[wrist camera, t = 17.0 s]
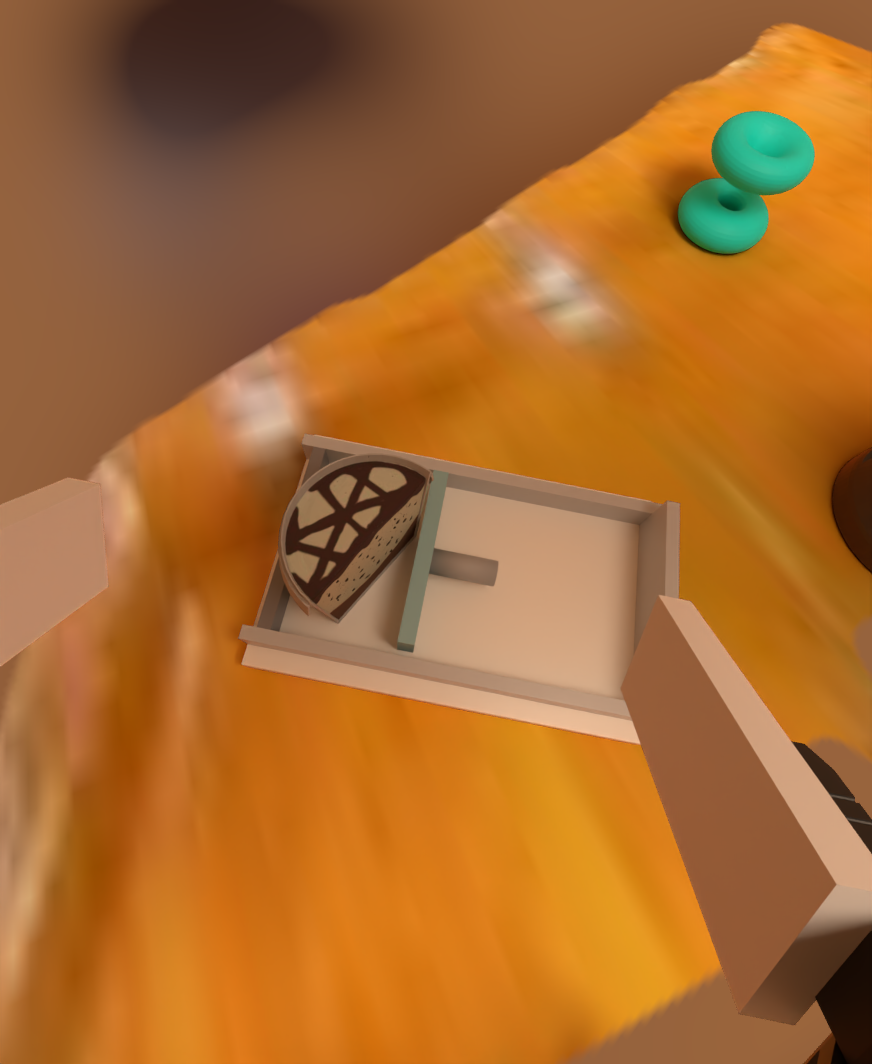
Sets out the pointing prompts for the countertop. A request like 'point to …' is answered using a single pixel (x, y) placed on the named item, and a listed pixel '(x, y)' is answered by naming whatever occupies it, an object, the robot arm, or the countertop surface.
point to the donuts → (745, 180)
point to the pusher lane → (494, 603)
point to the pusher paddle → (437, 564)
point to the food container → (349, 529)
